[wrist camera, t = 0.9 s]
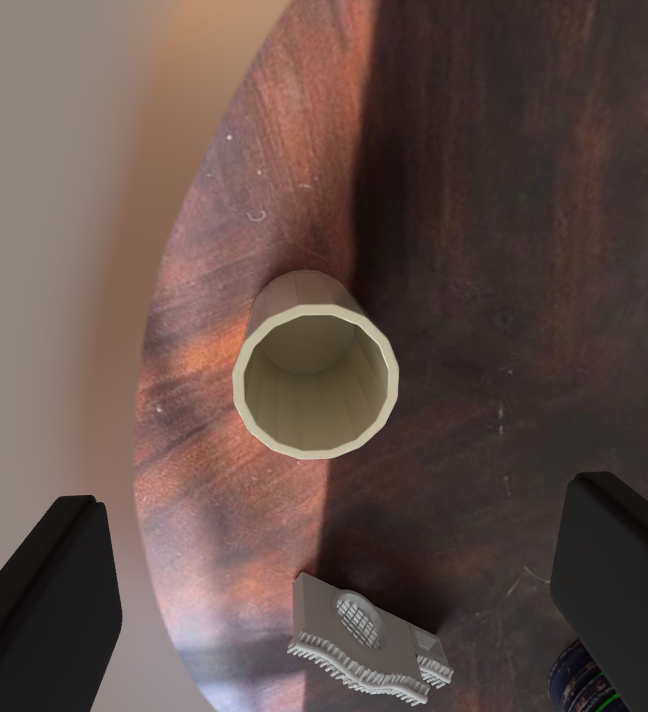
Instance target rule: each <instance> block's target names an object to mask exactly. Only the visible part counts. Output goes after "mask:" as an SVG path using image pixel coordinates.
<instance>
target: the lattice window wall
mask: <svg viewBox="0 0 648 712" xmlns="http://www.w3.org/2000/svg"><path fill="white" fill-rule="evenodd" d="M338 612H339V613H340V615H341V616H342V618H341V617H340V616H339V614H338ZM343 613H344V614H343ZM345 615H347V616H348V617H349V618H350V621H349V620H348V619H347V618H346V617H345ZM293 618H294V637H293V639H292V640H291V641H290V642H289V644H288V647H289V648H290V649H288V650H287V653H290V652H291V651H293V650H295V651H294V652H293V655H295V654H297V653H298V652H300V653H298V656H301V655H303V654H304V653H305V654H304V655H303V657H304V658H306V657H307V656H309V655H311V656H309V660H311V659H312V658H316V660H315V661H314V662H315V664H316V663H318V662H320V661H321V662H322V663H321V664H320V667H323V666H324V665H327V666H328V667H327V668H325V670H326V671H329V670H330V669H332V670H333V672H332V673H331V676H334V675H336V674H337V676H336V679H339V678H342V679H343V680H344V681H343V684H346V683H348V684H349V686H348V687H349V688H353V687H354V688H355V690H359V689H361V692H364V691H366V693H368V692H370V694H376V693H378V694H380V693H382V694H384V693H386V692H387V694H390V693H391V694H392V695H393V694H395V693H397V694H396V696H397V697H399V696H401V695H403V696H401V700H403V699H405V698H408V699H406V702H407V703H408V702H410V701H412V700H413V701H414V702H412V703H411V705H412V706H414V705H416V704H418V703H420V702H421V703H423V704H425V703H426V702H427V700H428V697H427V696H426V695H427V693H428V691H429V689H430V686H429V684H427V683H425V682H424V681H423V680H425V679H427V678H429V679H427V682H430V681H432V680H433V682H432V685H434V684H436V683H438V685H436V687H437V688H439V687H441V686H443V685H445V684H446V682H447V683H450V682H451V675H452V673H453V671H454V670H453V668H451V667H449V666H448V664H447V662H448V661H447V658H446V656H445V653H444V650H443V647H442V645H441V642H440V639H438V637H437V636H436V635H433V634H431V633H429V632H427V631H425V630H423V629H421V628H419V627H417V626H415V625H413V624H411V623H408V622H406V621H405V620H403V619H400V618H398V617H396V616H394V615H392V614H390V613H388V612H386V611H384V610H382V609H380V608H378V607H375V606H374V605H373V604H372V603H371V602H370V601H369V600H368V599H366V598H365V597H364V596H362V595H360V594H359V593H357V592H354V591H351V590H340V589H338V588H336V587H334V586H332V585H330V584H328V583H325V582H323V581H321V580H319V579H317V578H315V577H313V576H311V575H309V574H307V573H305V572H303V571H302V572H301V573H300V574H299V576H298V577H297V578H296V579H295V581H294V582H293ZM343 618H344V619H345V620H346V621H347V622H348V624H347V623H346V622H345V621H344V620H343ZM351 621H352V622H353V623H354V624H355V625H356V627H355V626H354V625H353V624H352V623H351ZM343 624H344V625H345V626H346V627H345V626H344V625H343ZM349 624H350V626H351V627H352V628H353V629H354V630H352V629H351V628H350V627H349ZM357 627H358V628H359V629H360V630H361V633H360V632H359V631H358V630H357ZM347 628H348V629H349V630H350V631H351V633H350V632H349V631H348V630H347ZM355 631H356V632H357V633H358V634H359V636H357V634H356V633H355ZM362 633H363V634H364V635H365V636H366V637H367V638H366V639H365V637H364V636H363V635H362ZM353 635H354V636H355V637H356V638H357V640H356V639H355V637H354V636H353ZM360 637H361V638H362V639H363V640H364V641H365V642H363V641H362V640H361V639H360ZM358 640H359V641H360V642H361V644H360V643H359V642H358ZM367 640H369V642H370V643H369V642H368V641H367ZM366 643H367V644H368V645H369V646H370V649H369V648H368V647H367V646H366ZM422 676H424V677H423V678H422Z"/></svg>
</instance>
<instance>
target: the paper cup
mask: <svg viewBox="0 0 648 712" xmlns="http://www.w3.org/2000/svg"><path fill="white" fill-rule="evenodd" d="M232 379H233V396H234V404H235V406H236V408H237V410H238V412H239V414H240V416H241V418H242V420H243V422H244V423H245V425H246V427H247V429H248V430H249V432H251V433H252V434H253V435H254V436H256V437H257V438H258V439H259V440H260V441H262V442H263V443H264V444H265V445H266V446H268V447H269V448H270V449H272V450H273V451H276V452H280V453H283V454H286V455H289V456H292V457H295V458H298V459H303V460H304V459H328V458H335V457H337V456H340V455H342V454H344V453H347V452H349V451H352V450H354V449H357V448H359V447H361V446H363V445H364V444H365V443H366V442H367V441H368V440H369V439H370V438H371V437H372V436H373V435H375V434H376V433H377V432H378V431H379V430H380V429H381V428H382V427H383V426H384V425H385V423H386V421H387V419H388V417H389V415H390V413H391V411H392V409H393V407H394V405H395V402H396V400H397V397H398V381H399V366H398V363H397V361H396V358H395V355H394V353H393V350H392V347H391V345H390V342H389V340H388V338H387V337H386V336H385V334H384V333H383V332H382V331H381V329H380V328H379V327H378V326H377V324H376V323H375V322H374V321H373V319H372V318H371V317H370V316H369V314H368V313H367V312H366V311H365V309H364V308H363V307H362V305H361V304H360V303H359V302H358V300H357V299H356V298H355V297H354V295H353V294H352V293H351V292H350V291H349V290H348V289H347V288H346V287H345V286H344V285H343V284H342V283H341V282H340V281H339V280H337V279H335V278H334V277H332V276H330V275H328V274H325V273H322V272H318V271H313V270H297V271H292V272H288V273H286V274H283V275H281V276H279V277H277V278H275V279H274V280H272V281H271V282H270V283H269V284H267V285H266V286H265V287H264V288H263V290H262V291H261V292H260V293H259V295H258V296H257V297H256V299H255V302H254V304H253V307H252V310H251V312H250V315H249V318H248V321H247V324H246V328H245V331H244V334H243V338H242V341H241V344H240V348H239V351H238V354H237V358H236V361H235V364H234V368H233V372H232Z"/></svg>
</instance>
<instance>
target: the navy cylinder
mask: <svg viewBox="0 0 648 712" xmlns="http://www.w3.org/2000/svg"><path fill="white" fill-rule="evenodd" d="M547 687H548V695H549V698H550V700H551V702H552V704H553V706H554V708H555V709H556V711H557V712H630V711H629V710H628V708H627V707H626V705H625V704H624V703H623V701H622V700H621V698H620V697H619V695H618V694H617V693H616V691H615V690H614V688H613V687H612V685H611V684H610V682H609V681H608V680H607V678H606V677H605V675H604V674H603V672H602V671H601V670H600V668H599V667H598V665H597V664H596V662H595V661H594V659H593V658H592V657H591V655H590V654H589V652H588V651H587V649H586V648H585V647H584V645H583V644H582V642H581V641H580V640H579V641H578V642H576V643H575V644H573V645H572V646H571V647H570V648H568V649H567V650H566V651H565V652H564V653H563V654H562V655H561V656H560V658H559V659H558V660H557V662H556V663H555V665H554V666H553V668H552V670H551V673H550V676H549V679H548V686H547Z"/></svg>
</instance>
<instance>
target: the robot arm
mask: <svg viewBox="0 0 648 712" xmlns="http://www.w3.org/2000/svg"><path fill="white" fill-rule="evenodd" d="M550 592H551V596H552V599H553V601H554V603H555V605H556V606H557V608H558V609H559V611H560V612H561V614H562V615H563V616H564V618H565V619H566V621H567V622H568V624H569V625H570V626H571V628H572V629H573V631H574V632H575V634H576V635H577V637H578V638H579V639H580V641H581V642H582V644H583V645H584V647H585V648H586V649H587V651H588V652H589V654H590V655H591V657H592V658H593V659H594V661H595V662H596V664H597V665H598V667H599V668H600V670H601V671H602V672H603V674H604V675H605V677H606V678H607V680H608V681H609V682H610V684H611V685H612V687H613V688H614V690H615V691H616V693H617V694H618V695H619V697H620V698H621V700H622V701H623V703H624V704H625V705H626V707H627V708H628V710H629V711H630V712H648V501H647V500H645V499H644V498H643V497H642V496H640V495H639V494H638V493H636V492H635V491H634V490H633V489H631V488H630V487H629V486H628V485H626V484H625V483H624V482H623V481H621V480H620V479H619V478H618V477H616V476H615V475H614V474H612V473H610V472H605V471H604V472H582V473H579V474H577V475H576V477H575V478H574V480H572V481H570V482H569V484H568V486H567V491H566V497H565V503H564V508H563V514H562V519H561V525H560V531H559V536H558V542H557V548H556V553H555V559H554V564H553V570H552V576H551V581H550ZM121 626H122V608H121V601H120V595H119V589H118V582H117V576H116V569H115V563H114V557H113V550H112V544H111V538H110V531H109V525H108V519H107V513H106V507H105V505H104V503H102V502H96V499H95V497H94V496H92V495H78V496H62V497H59V498H58V499H56V500H55V502H54V503H53V504H52V506H51V507H50V508H49V509H48V511H47V512H46V513H45V515H44V516H43V517H42V519H41V520H40V521H39V522H38V523H37V525H36V526H35V527H34V528H33V530H32V531H31V532H30V534H29V535H28V536H27V537H26V539H25V540H24V541H23V543H22V544H21V545H20V546H19V547H18V549H17V550H16V551H15V553H14V554H13V555H12V556H11V558H10V559H9V560H8V561H7V563H6V564H5V565H4V567H3V568H2V569H1V570H0V712H90V710H91V707H92V705H93V702H94V699H95V697H96V694H97V692H98V689H99V686H100V684H101V681H102V679H103V676H104V674H105V671H106V668H107V665H108V663H109V660H110V658H111V655H112V652H113V650H114V648H115V645H116V642H117V640H118V637H119V634H120V631H121Z"/></svg>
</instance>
